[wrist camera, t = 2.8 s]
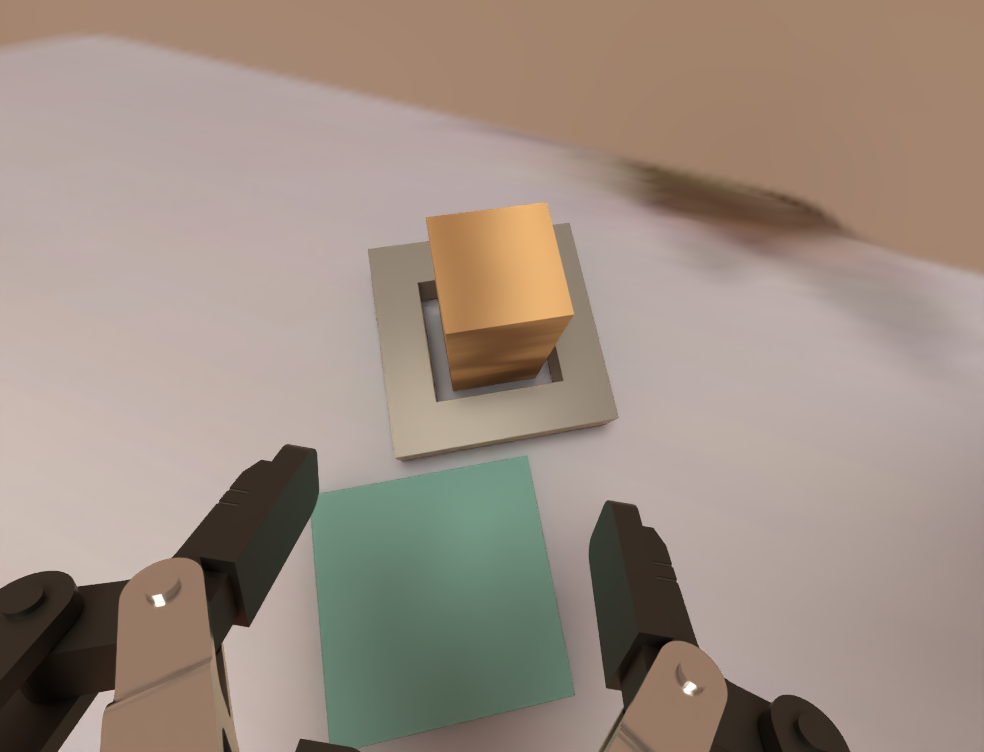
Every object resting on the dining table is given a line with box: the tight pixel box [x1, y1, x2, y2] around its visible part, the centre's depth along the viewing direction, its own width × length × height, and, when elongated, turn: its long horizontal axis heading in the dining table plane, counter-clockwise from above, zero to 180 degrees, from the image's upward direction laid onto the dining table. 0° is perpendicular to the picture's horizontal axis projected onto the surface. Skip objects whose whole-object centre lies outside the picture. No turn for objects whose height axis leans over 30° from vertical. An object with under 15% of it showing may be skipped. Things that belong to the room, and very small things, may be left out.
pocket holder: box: [368, 223, 619, 461], centre depth 26 cm, size 12×12×2 cm
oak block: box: [426, 202, 574, 391], centre depth 22 cm, size 5×5×10 cm
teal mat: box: [311, 456, 575, 748], centre depth 23 cm, size 12×12×1 cm
